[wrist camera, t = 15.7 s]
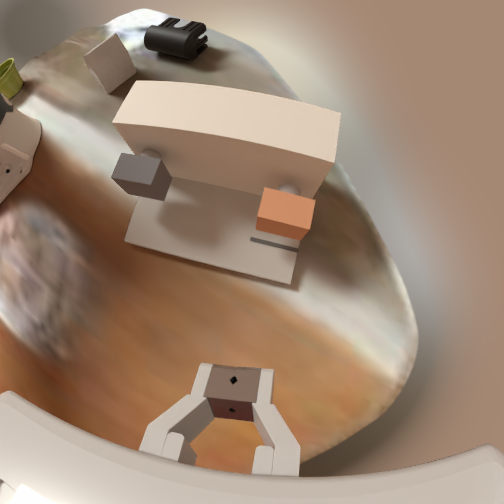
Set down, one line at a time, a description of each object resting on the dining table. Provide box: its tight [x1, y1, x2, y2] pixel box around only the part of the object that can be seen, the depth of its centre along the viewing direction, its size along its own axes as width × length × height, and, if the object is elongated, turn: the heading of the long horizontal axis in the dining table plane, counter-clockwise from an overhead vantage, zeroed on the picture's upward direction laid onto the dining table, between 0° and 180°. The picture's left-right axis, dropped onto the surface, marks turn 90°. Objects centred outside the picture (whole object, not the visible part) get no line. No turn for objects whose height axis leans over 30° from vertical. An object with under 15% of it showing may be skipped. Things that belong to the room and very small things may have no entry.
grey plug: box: [111, 149, 172, 201], centre depth 29 cm, size 4×5×5 cm
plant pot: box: [0, 58, 23, 99], centre depth 38 cm, size 9×9×9 cm
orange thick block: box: [256, 184, 316, 241], centre depth 29 cm, size 4×5×5 cm
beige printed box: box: [83, 33, 137, 94], centre depth 36 cm, size 4×7×10 cm, turn 135°
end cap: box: [144, 18, 208, 59], centre depth 39 cm, size 10×7×7 cm
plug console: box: [112, 80, 341, 285], centre depth 30 cm, size 16×22×14 cm
